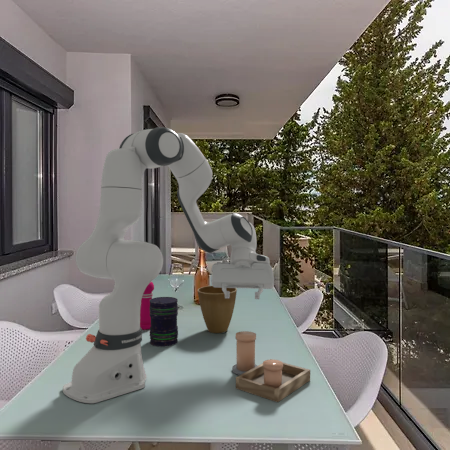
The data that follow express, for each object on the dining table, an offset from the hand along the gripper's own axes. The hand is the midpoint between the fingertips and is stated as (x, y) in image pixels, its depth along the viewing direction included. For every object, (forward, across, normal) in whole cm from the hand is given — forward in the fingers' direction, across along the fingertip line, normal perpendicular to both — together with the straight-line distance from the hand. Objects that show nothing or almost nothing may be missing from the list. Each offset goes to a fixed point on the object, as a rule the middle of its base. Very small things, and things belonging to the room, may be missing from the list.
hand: (242, 297), depth 139 cm
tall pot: (+20, +2, +6) cm, 21 cm away
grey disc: (+21, +2, +7) cm, 22 cm away
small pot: (+30, +9, -4) cm, 32 cm away
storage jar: (+4, -28, +24) cm, 36 cm away
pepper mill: (-8, -38, +35) cm, 52 cm away
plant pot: (-7, -10, +34) cm, 36 cm away
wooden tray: (+27, +9, 0) cm, 29 cm away
